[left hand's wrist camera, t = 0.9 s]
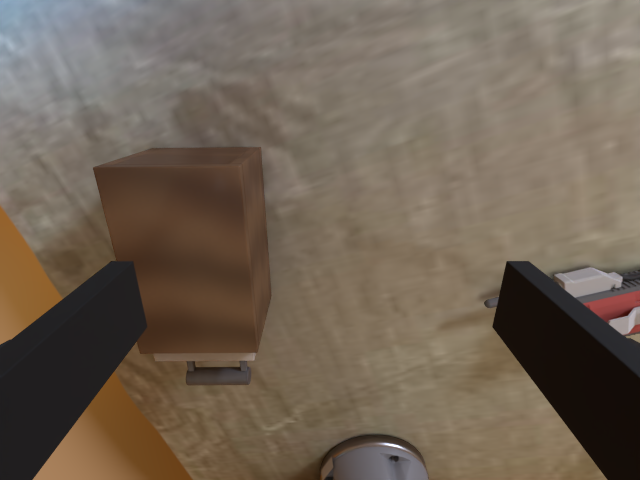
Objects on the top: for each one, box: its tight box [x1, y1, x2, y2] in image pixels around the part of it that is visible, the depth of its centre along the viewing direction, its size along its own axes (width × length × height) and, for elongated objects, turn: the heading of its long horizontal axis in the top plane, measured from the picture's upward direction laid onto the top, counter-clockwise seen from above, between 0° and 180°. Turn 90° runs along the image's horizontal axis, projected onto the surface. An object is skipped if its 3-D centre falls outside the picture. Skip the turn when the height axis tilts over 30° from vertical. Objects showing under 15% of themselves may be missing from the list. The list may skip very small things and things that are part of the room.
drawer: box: [153, 353, 256, 385], centre depth 35 cm, size 21×9×8 cm, turn 1°
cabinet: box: [93, 147, 271, 354], centre depth 33 cm, size 17×10×10 cm, turn 1°
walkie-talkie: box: [484, 267, 640, 336], centre depth 38 cm, size 9×4×20 cm
